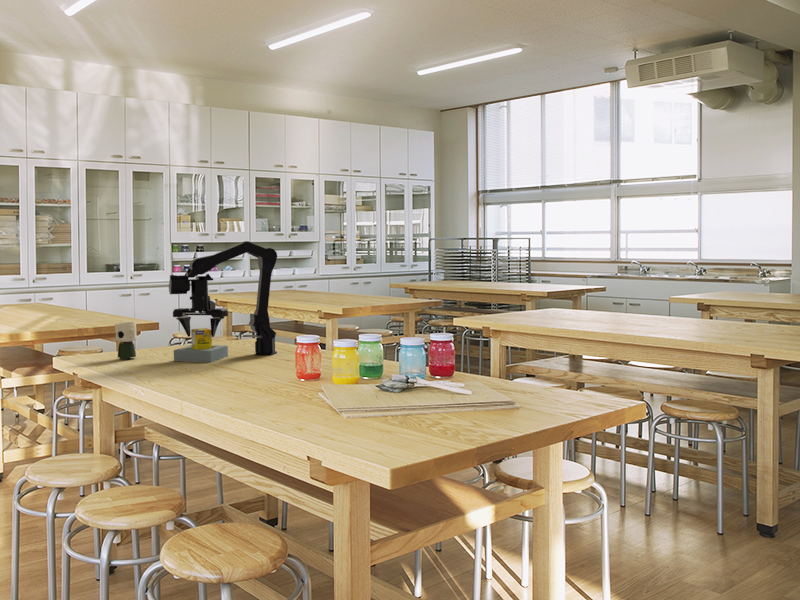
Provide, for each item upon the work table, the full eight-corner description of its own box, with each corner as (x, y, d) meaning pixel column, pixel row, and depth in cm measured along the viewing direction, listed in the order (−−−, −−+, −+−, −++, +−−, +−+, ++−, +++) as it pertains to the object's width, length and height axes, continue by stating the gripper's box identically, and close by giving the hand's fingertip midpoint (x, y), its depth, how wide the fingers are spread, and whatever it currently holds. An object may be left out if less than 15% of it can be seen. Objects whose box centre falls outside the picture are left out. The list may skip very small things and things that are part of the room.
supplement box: (212, 359, 254) (211, 329, 254) (195, 361, 251) (194, 330, 251) (208, 357, 259) (207, 327, 259) (191, 358, 257) (190, 328, 256)
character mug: (110, 358, 257) (108, 323, 256) (128, 356, 263) (127, 321, 262) (125, 361, 250) (123, 325, 249) (143, 359, 255) (142, 323, 254)
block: (228, 356, 261) (227, 345, 261) (211, 362, 247) (210, 350, 247) (192, 355, 263) (192, 344, 263) (174, 361, 250) (173, 350, 249)
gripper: (233, 292, 260) (234, 334, 261) (186, 292, 263) (187, 333, 264) (220, 294, 249) (221, 338, 250) (171, 294, 252) (172, 337, 253)
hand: (201, 336), depth 255 cm, fingers open, 9 cm apart
